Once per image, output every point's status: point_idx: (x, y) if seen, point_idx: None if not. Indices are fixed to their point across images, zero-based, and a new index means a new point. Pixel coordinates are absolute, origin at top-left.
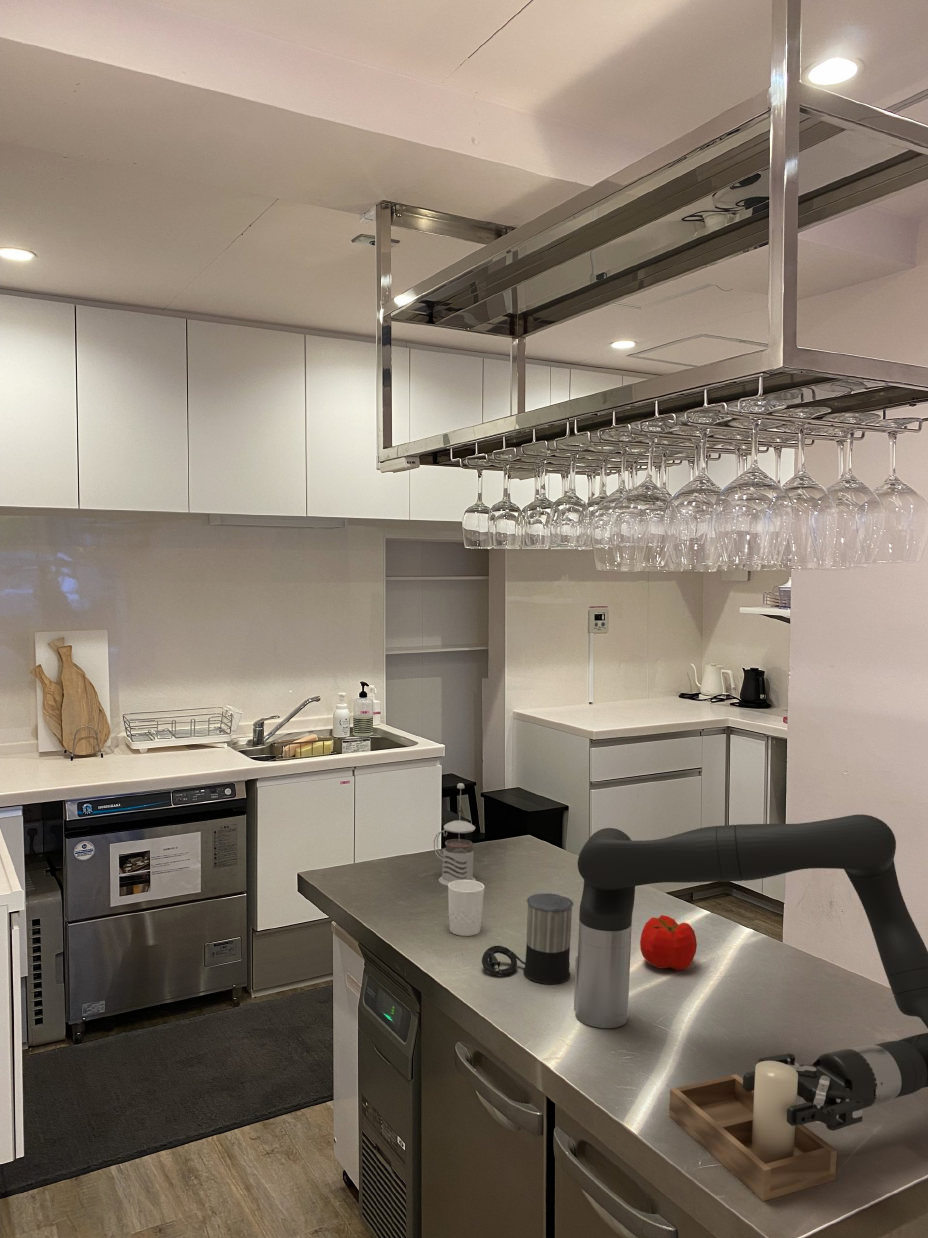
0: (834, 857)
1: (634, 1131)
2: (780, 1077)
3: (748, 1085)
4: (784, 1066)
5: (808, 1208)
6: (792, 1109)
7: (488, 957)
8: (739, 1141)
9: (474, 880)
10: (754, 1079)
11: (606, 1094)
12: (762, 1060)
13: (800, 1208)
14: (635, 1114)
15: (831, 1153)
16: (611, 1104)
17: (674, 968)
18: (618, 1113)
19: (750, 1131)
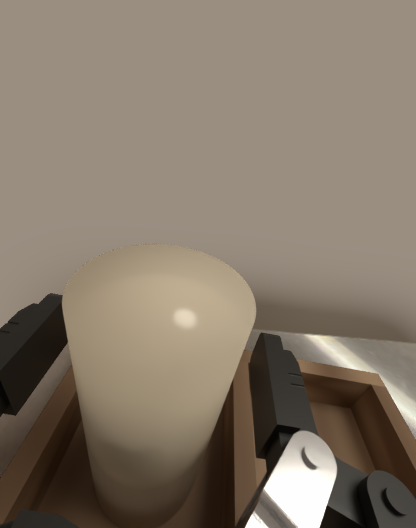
0: None
1: (309, 335)
2: (125, 266)
3: (255, 356)
4: (174, 340)
5: (18, 414)
6: (51, 293)
7: None
8: (224, 428)
9: None
10: (261, 365)
11: (407, 362)
12: (387, 487)
13: (35, 400)
14: (353, 362)
15: None
16: (378, 352)
17: None
18: (354, 345)
19: (227, 456)
